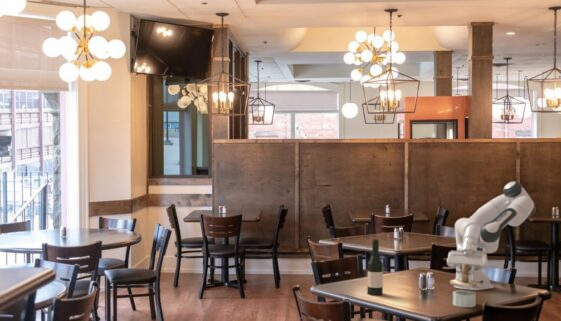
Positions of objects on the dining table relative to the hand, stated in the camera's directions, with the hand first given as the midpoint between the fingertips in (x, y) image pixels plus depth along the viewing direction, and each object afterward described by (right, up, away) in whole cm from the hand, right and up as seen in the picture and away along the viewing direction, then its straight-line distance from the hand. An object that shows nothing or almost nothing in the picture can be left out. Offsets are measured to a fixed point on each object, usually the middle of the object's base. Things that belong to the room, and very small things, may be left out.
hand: (465, 273), depth 343 cm
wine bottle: (-42, -15, +25) cm, 51 cm away
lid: (0, -5, +1) cm, 5 cm away
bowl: (0, -16, +1) cm, 16 cm away
